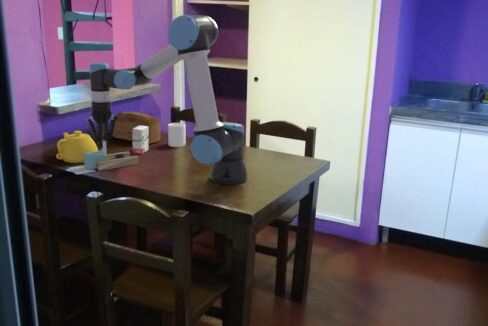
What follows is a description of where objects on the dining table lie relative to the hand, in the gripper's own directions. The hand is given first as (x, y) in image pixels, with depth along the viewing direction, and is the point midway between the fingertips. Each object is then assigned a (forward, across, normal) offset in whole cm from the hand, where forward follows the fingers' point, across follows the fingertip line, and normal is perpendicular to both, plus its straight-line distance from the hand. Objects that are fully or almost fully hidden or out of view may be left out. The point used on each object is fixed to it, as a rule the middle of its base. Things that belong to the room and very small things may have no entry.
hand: (103, 155), depth 211 cm
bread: (+5, -31, -35) cm, 47 cm away
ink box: (+5, -23, -13) cm, 27 cm away
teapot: (+5, +7, -18) cm, 20 cm away
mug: (+5, -45, -15) cm, 48 cm away
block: (+5, +4, 0) cm, 6 cm away
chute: (+5, -4, 0) cm, 7 cm away
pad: (+5, +10, 0) cm, 11 cm away
